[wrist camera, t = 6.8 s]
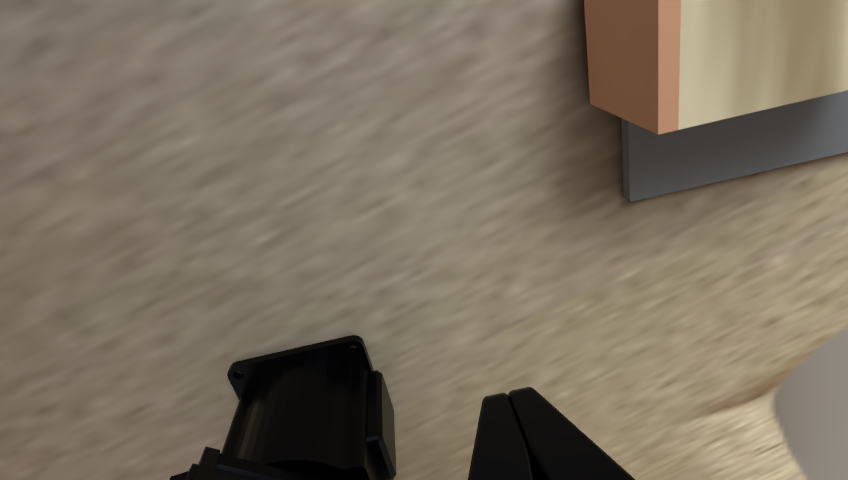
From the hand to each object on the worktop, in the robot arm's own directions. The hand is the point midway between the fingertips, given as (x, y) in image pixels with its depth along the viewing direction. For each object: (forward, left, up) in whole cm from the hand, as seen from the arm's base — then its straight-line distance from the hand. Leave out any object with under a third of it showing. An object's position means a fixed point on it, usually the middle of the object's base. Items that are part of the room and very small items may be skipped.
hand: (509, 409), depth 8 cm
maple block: (+6, +4, -10) cm, 13 cm away
